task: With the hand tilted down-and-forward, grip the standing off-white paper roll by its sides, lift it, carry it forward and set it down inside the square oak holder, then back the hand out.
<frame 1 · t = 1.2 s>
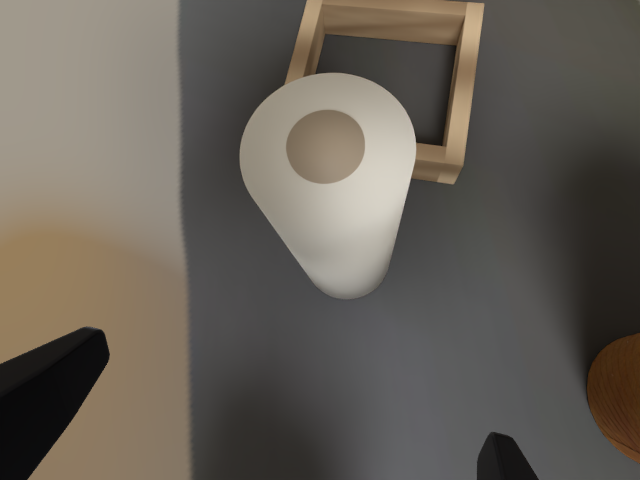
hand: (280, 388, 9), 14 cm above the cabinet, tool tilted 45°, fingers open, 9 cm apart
paper roll: (346, 256, 24), on the cabinet
oak holder: (378, 95, 27), on the cabinet
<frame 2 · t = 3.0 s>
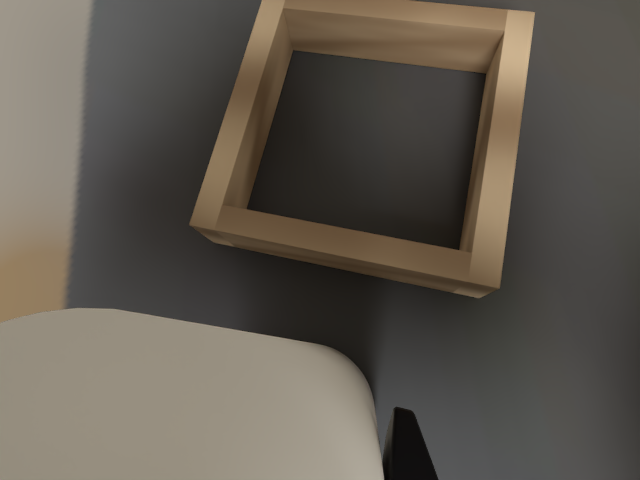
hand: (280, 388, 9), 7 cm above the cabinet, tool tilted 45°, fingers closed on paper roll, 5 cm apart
paper roll: (307, 412, 15), on the cabinet, touching gripper
oak holder: (366, 147, 18), on the cabinet
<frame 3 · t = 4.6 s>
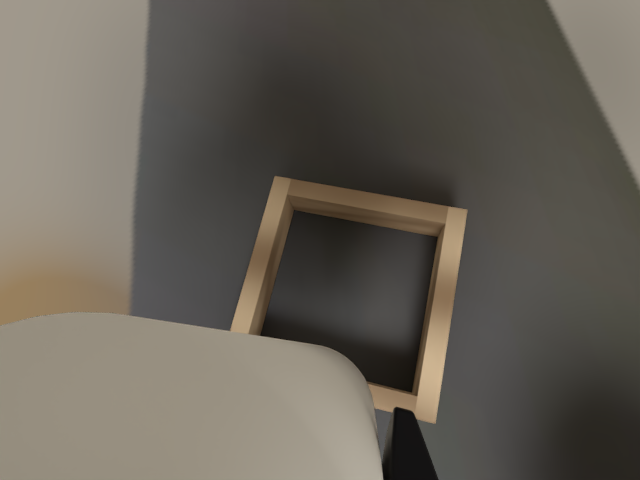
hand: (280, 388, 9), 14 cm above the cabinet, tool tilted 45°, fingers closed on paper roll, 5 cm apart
paper roll: (307, 413, 15), point 8 cm above the cabinet, touching gripper
oak holder: (348, 294, 24), on the cabinet
when the fingers open (8 cm above the cabinet, at t = 6.4 s): paper roll drops 1 cm, resting in oak holder.
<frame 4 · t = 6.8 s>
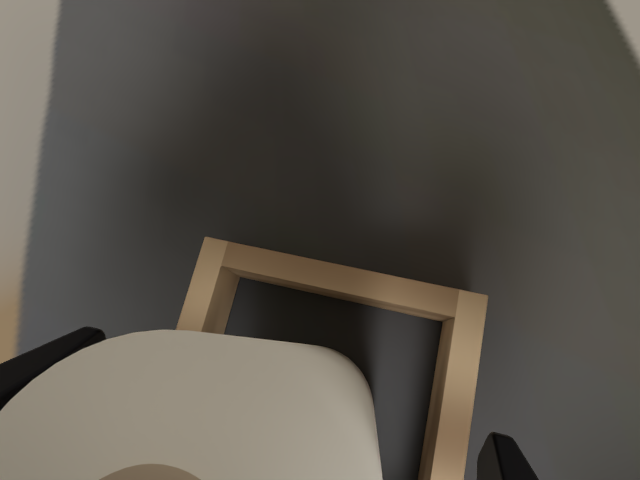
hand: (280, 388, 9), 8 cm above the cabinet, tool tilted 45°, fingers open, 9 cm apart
paper roll: (312, 408, 16), resting in oak holder
oak holder: (312, 406, 16), on the cabinet
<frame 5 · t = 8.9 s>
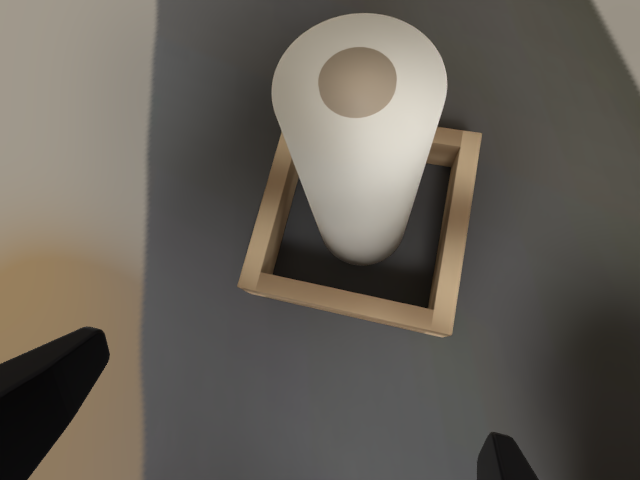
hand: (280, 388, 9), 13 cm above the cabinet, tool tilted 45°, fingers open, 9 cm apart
paper roll: (361, 224, 24), resting in oak holder
oak holder: (362, 223, 24), on the cabinet
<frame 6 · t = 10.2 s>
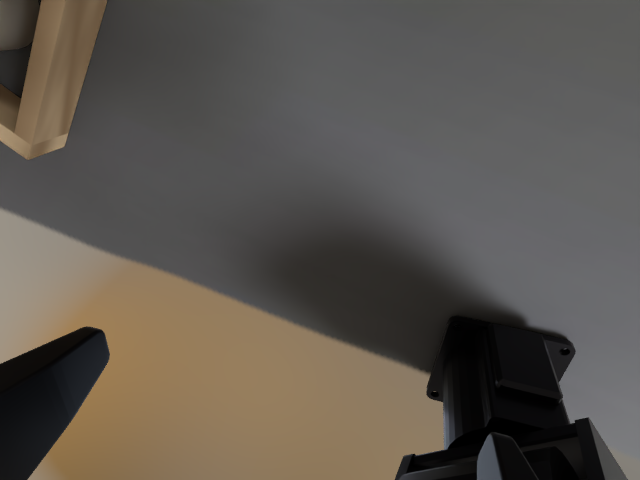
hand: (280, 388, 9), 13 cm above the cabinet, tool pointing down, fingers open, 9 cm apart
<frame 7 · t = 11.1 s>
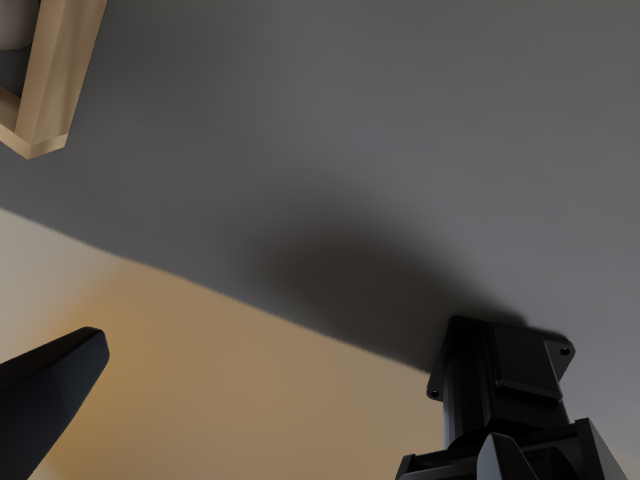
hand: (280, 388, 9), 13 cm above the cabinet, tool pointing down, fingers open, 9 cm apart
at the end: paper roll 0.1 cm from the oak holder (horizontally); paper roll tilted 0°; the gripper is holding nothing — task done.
